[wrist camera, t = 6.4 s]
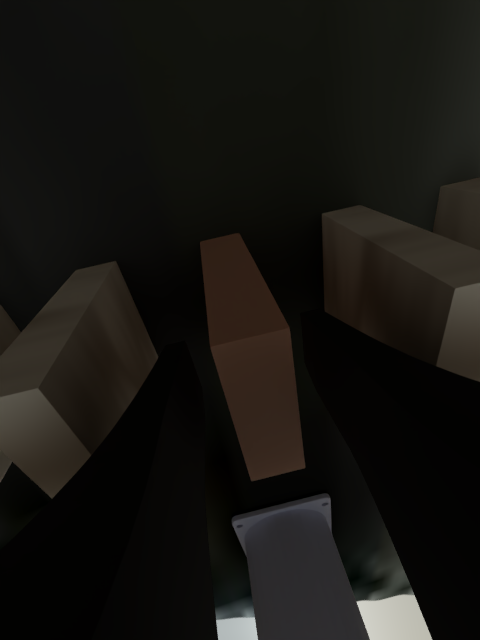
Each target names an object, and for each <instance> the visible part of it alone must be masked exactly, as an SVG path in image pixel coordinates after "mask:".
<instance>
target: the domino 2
mask: <svg viewBox="0 0 480 640" xmlns="http://www.w3.org/2000/svg"><path fill="white" fill-rule="evenodd" d="M322 241H323V274H324V307H325V312H327V313H328V314H330V315H332V316H334V317H335V318H337V319H339V320H341V321H343V322H344V323H346V324H348V325H350V326H352V327H353V328H355V329H357V330H359V331H361V332H363V333H364V334H366V335H368V336H370V337H372V338H374V339H376V340H378V341H380V342H382V343H384V344H386V345H388V346H390V347H393V348H395V349H397V350H399V351H401V352H403V353H406V354H408V355H410V356H412V357H415V358H417V359H419V360H422V361H424V362H427V363H429V364H432V365H434V366H437V367H440V368H442V369H445V370H448V371H450V372H453V373H455V374H458V375H461V376H464V377H467V378H470V379H473V380H476V381H479V382H480V250H477V249H474V248H472V247H469V246H467V245H464V244H461V243H459V242H456V241H453V240H451V239H448V238H446V237H443V236H440V235H438V234H435V233H432V232H430V231H427V230H425V229H422V228H419V227H417V226H414V225H412V224H409V223H406V222H404V221H401V220H398V219H396V218H393V217H391V216H388V215H385V214H383V213H380V212H377V211H375V210H372V209H370V208H367V207H364V206H362V205H357V206H353V207H349V208H344V209H340V210H336V211H331V212H327V213H322Z"/></svg>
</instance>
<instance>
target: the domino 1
mask: <svg viewBox="0 0 480 640" xmlns="http://www.w3.org/2000/svg"><path fill="white" fill-rule="evenodd" d="M157 359H158V355H157V353H156V351H155V348H154V346H153V344H152V341H151V339H150V337H149V335H148V332H147V330H146V328H145V326H144V323H143V321H142V319H141V317H140V314H139V312H138V310H137V308H136V305H135V303H134V301H133V298H132V296H131V294H130V292H129V289H128V287H127V285H126V283H125V280H124V278H123V276H122V274H121V271H120V269H119V267H118V264H117V262H116V261H114V262H109V263H105V264H101V265H96V266H92V267H87V268H83V269H79V270H76V271H75V272H74V273H73V274H72V275H71V276H70V277H69V279H68V280H67V281H66V282H65V283H64V284H63V285H62V287H61V288H60V289H59V290H58V291H57V292H56V293H55V295H54V296H53V297H52V298H51V299H50V300H49V301H48V303H47V304H46V305H45V306H44V307H43V308H42V309H41V311H40V312H39V313H38V314H37V315H36V316H35V317H34V319H33V320H32V321H31V322H30V323H29V324H28V325H27V327H26V328H25V329H24V330H23V331H22V332H21V333H20V334H19V336H18V337H17V338H16V339H15V340H14V341H13V342H12V344H11V345H10V346H9V347H8V348H7V349H6V350H5V352H4V353H3V354H2V355H1V356H0V450H1V451H2V452H3V453H4V454H5V455H6V456H7V457H8V458H9V459H10V460H11V461H12V462H13V463H15V464H16V465H17V466H18V467H19V468H20V469H21V470H22V471H23V472H24V473H25V474H26V475H27V476H29V477H30V478H31V479H32V480H33V481H34V482H35V483H36V484H37V485H38V486H39V487H40V488H41V489H43V490H44V491H45V492H46V493H47V494H48V495H49V496H50V497H51V498H53V497H54V496H55V495H56V494H57V493H58V492H59V491H60V490H61V489H62V488H63V486H64V485H65V484H66V483H67V482H68V481H69V480H70V479H71V478H72V477H73V476H74V475H75V473H76V472H77V471H78V470H79V469H80V468H81V467H82V466H83V464H84V463H85V462H86V461H87V460H88V459H89V457H90V456H91V455H92V454H93V453H94V451H95V450H96V449H97V448H98V446H99V445H100V444H101V443H102V442H103V440H104V439H105V438H106V436H107V435H108V434H109V433H110V431H111V430H112V429H113V427H114V426H115V425H116V423H117V422H118V420H119V419H120V417H121V416H122V415H123V413H124V412H125V410H126V409H127V407H128V406H129V405H130V403H131V402H132V400H133V399H134V397H135V395H136V394H137V392H138V391H139V389H140V387H141V386H142V384H143V383H144V381H145V380H146V378H147V376H148V375H149V373H150V371H151V370H152V368H153V366H154V364H155V363H156V361H157Z"/></svg>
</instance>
